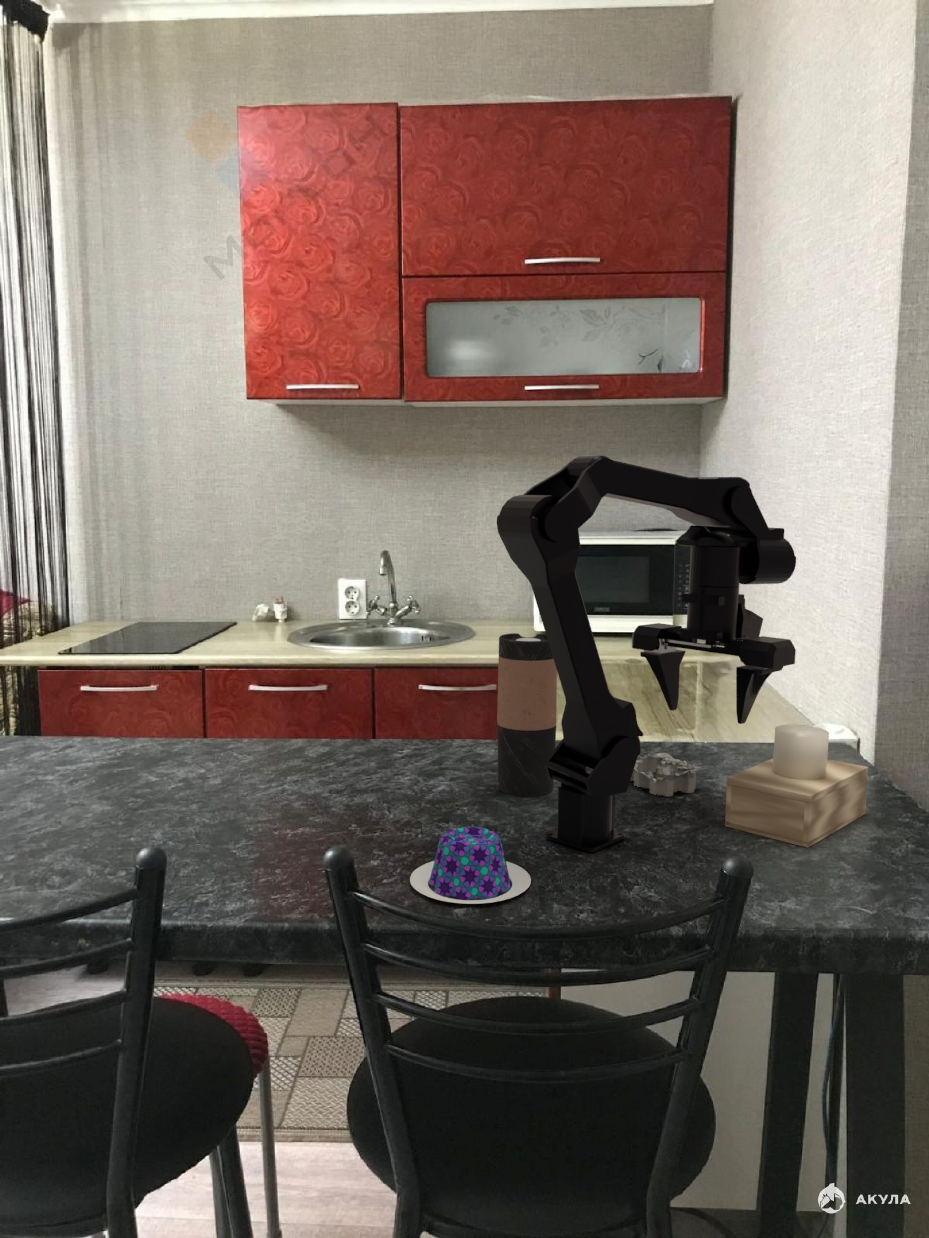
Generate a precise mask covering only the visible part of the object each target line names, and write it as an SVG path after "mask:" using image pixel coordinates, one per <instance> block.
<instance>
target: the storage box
mask: <svg viewBox="0 0 929 1238" xmlns="http://www.w3.org/2000/svg"><path fill="white" fill-rule="evenodd" d="M868 776H869V773H868V774H866V775H864V776H862V777H860V778H858V779H856V780H855V781H853V782H851V783H849V784H847V785H845V786H843V787H841V788H839V789H837V790H835V791H833V792H831V793H829V794H827V795H826V796H824V797H822V798H820V799H818V800H816V801H814V802H812V803H806V802H802V801H798V800H793V799H789V798H785V797H780V796H776V795H772V794H767V793H763V792H759V791H754V790H750V789H746V788H741V787H737V786H733V785H729V784H727V783H726V796H725V797H726V798H725V817H724V818H725V819H724V820H725V823H724V827H727V828H731V829H734V830H738V831H742V832H745V833H749V834H753V835H758V836H761V837H765V838H769V839H773V840H777V841H781V842H783V843H789V844H793V845H796V846H800V847H803V848H806V849H807V848H810V847H812V846H814V845H815V844H817V843H819V842H820V841H822V840H823V839H826V838H827V837H828V836H830V835H832V834H833V833H836V832H837V831H840V829H842V828H844V827H845V826H847V825H850V824H851V823H853V822H854V821H856V820H858V819H859V818H861V817H863V816H864V815H866V812H867V811H866V809H867V807H866V806H867V793H868V788H867V787H868Z"/></svg>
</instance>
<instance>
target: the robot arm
mask: <svg viewBox="0 0 929 1238" xmlns="http://www.w3.org/2000/svg"><path fill="white" fill-rule="evenodd" d="M604 497H607V498H610V499H611V498H612V499H615V500H616V499H617V500H620V501H621V500H622V501H625V502H630V503H635V504H640V505H646V506H651V507H656V508H661V509H665V510H666V511H669V512H671V513H672V514H673V515H675V516H676V518H679V519H681V520H683V521H685V522H688V523H690V524H692V525H690V526H689V527H688V529H686V531H685V532H684V533H683V534H681V535H680V536H679V537H678V538H677V539H676V540H675V543H676V545H678V546H684V547H690V555H689V557H690V559H689V562H690V563H689V578H688V579H689V580H688V592H685V593H684V592H683V593H682V595H681V603H687V611H686V613H687V614H686V627H682V625H677V624H667V623H660V622H657V623H647V624H640V625H637V627H636V628H635V629H634V631H633V633H632V634H631V635H632V637H631V648H632V649H636V650H642V651H640V653H639V654H640V657H641V658H645V660H646V661H647V664H648V665H649V667H650V669H651V670H652V672H653V674H654V677H655V678H656V681H657V683H658V684H659V685H658V686H659V687H660V690H661V692H662V695H663V697H664V700H665V702H666V705H667V706H668V710H669V711H673V712H674V711H677V708H678V705H679V704H678V702H679V697H680V696H679V693H680V673H681V672H680V669H681V668H680V666H681V663H682V662H683V659H684V657H685V654H686V650H693V651H698V652H699V651H700V652H706V653H707V652H708V653H714V654H720V655H729V656H734V657H738V658H739V659H740V661H741V662H742V664H744V665H741V666H736V668H735V670H736V671H735V672H736V673H735V674H736V677H735V678H736V679H735V680H736V681H735V682H736V683H735V685H736V686H735V687H736V690H735V692H736V693H735V694H736V695H735V696H736V698H735V699H736V708H735V709H736V719H737V723H738V724H739V725H742V724H743V725H744V724H746V722H747V719H748V717H749V715H750V712H751V710H752V708H753V706H754V703H755V701H756V699H757V697H758V695H759V694H760V693H759V692H760V691H761V689H762V687H763V686H764V684H765V683H766V681H767V679H769V677H770V676H771V675H772V674H773V673H775V672H781V671H782V670H783V669H784V667H786V666H791V665H795V664H796V648H795V646H794V644H793V642H792V640H791V639H788V638H780V637H773V636H765V635H764V636H763V635H762V636H760V635H761V631H762V626H763V622H764V618H763V617H762V616H760V615H758V614H757V613H755V612H754V611H752V610H749V609H748V608H747V609H746V599H745V594H743V593H740V584H741V585H774V584H775V585H776V584H777V585H779V584H783V583H785V582H787V581H788V580H790V578H791V577H792V576H793V574H794V572H795V569H796V566H797V565H796V564H797V556H796V555H795V551H794V548H793V546H792V545H791V543H790V542H789V540H787V538H785V528H783V527H769V526H768V524H767V521H766V520H765V517H764V515H763V513H762V511H761V509H760V507H759V505H758V503H757V500H756V498H755V496H754V493H753V491H752V489H751V484H750V482H749V480H747V479H745V478H744V477H740V476H710V477H709V476H707V477H706V476H704V477H702V476H701V477H699V476H698V477H697V476H695V477H692V476H691V477H689V476H683V475H680V474H676V473H672V472H667V471H662V470H658V469H654V468H649V467H644V466H640V465H635V464H631V463H627V462H622V461H620V460H619V461H617V460H613V459H611V458H610V457H608V456H606V455H584V456H576V457H575V458H573V459H572V460H570V461H569V462H568V463H567V464H566V465H565V466H563V467H562V468H561V469H559V471H557V472H555V473H554V474H552V475H550V476H549V477H547V478H545V479H543V480H542V481H540V482H538V483H537V484H535V485H533V486H531V487H530V488H529V489H527V491H525V492H524V494H519V495H514V496H512V497H510V498H509V499H508V500H506V501H505V503H504V504H503V505H502V506H501V510H500V512H499V514H498V515H497V517H496V528H497V533H498V535H499V537H500V539H501V541H502V544H503V546H504V548H505V549H506V552H507V553H508V555H509V558H510V559H511V561H512V562H513V563H514V564H515V565H516V567H517V568H518V569H519V570H520V572H521V573H522V574H523V576H525V578H526V579H527V580H528V582H529V583H530V586H531V590H532V592H533V595H534V599H535V602H536V605H537V608H538V611H539V615H540V619H541V622H542V625H543V629H544V632H545V634H546V636H547V639H548V642H549V646H550V649H551V652H552V655H553V659H554V662H555V665H556V669H557V676H558V677H559V681H560V685H561V689H562V691H563V694H564V698H565V699H564V700H565V705H564V710H563V714H562V718H561V724H560V725H561V730H562V731H561V732H562V736H563V738H562V739H561V740H560V742H559V743H558V744H557V745H556V746H555V749H554V751H553V752H552V753H551V754H550V756H549V757H548V758H547V760H546V761H545V763H544V765H545V768H546V772H547V775H548V778H550V779H552V780H553V781H556V782H558V783H560V787H558V789H557V826H556V827H557V829H554V830H552V831H550V832H547V833H546V834H545V838H546V839H547V840H551V841H553V842H557V843H560V844H563V845H566V846H569V847H572V848H576V849H579V850H581V851H585V852H589V853H593V852H598V851H599V850H601V849H603V848H606V847H608V846H611V845H613V844H615V843H617V842H620V841H622V840H624V839H625V838H626V837H625V835H626V834H625V833H623V832H621V831H620V832H619V831H618V830H614V829H615V816H616V815H615V813H616V810H615V807H616V804H615V803H616V795H619V794H625V793H627V792H628V789H629V785H630V782H631V781H630V779H631V776H632V773H633V770H634V767H635V763H636V760H637V757H638V756H639V755H640V756H641V753H642V752H641V751H642V745H641V739H640V737H644V732H643V731H642V730H641V729H640V726H639V724H638V720H637V711H636V709H635V706H634V704H633V702H631V701H628V700H625V699H621V698H619V697H615V696H613V695H612V693H611V692H610V689H609V685H608V683H607V682H608V681H607V679H606V675H605V671H604V668H603V664H602V662H601V658H600V655H599V651H598V647H597V645H596V640H595V636H594V633H593V630H592V627H591V626H592V625H591V623H590V619H589V616H588V612H587V610H586V606H585V601H584V599H583V596H582V592H581V588H580V585H579V581H578V578H577V574H576V573H577V572H576V568H577V565H578V564H577V563H578V559H579V556H580V555H579V554H580V549H581V540H580V533H579V532H580V531H579V528H581V527H582V526H583V525H584V524H585V523H586V522H588V520H589V519H591V518H592V517H593V516H594V514H595V512H596V510H597V508H598V506H599V504H600V503H601V501H602V499H603V498H604ZM698 640H703V641H705V643H704V642H698ZM677 648H678V649H677ZM681 649H686V650H681ZM586 768H590V769H592V771H590V770H587V769H586Z"/></svg>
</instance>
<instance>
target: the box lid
mask: <svg viewBox="0 0 929 1238" xmlns="http://www.w3.org/2000/svg"><path fill="white" fill-rule="evenodd" d="M866 774H868V775H869V766H864V765H861V764H856V763H855V764H853V763H849V762H845V761H839V760H833V759H828V758H827V770H826V776H825V777H824V778H821V779H815V780H803V779H794V778H788V777H784V776H781V775H779V774H776V773H775V772H774V771H773V758H771V759H768V760H765V761H764V762H762V763H759V764H756V765H753V766H751V767H748V768H747V769H744V770H741V771H739V772H737V773H735V774H731V775H730V776H727V777H726V785H727V784H729V785H733V786H737V787H741V788H746V789H750V790H754V791H759V792H763V793H767V794H772V795H776V796H780V797H785V798H789V799H793V800H798V801H802V802H806V803H812V802H814V801H816V800H818V799H820V798H822V797H824V796H826V795H827V794H829V793H831V792H833V791H835V790H837V789H839V788H841V787H843V786H845V785H847V784H849V783H851V782H853V781H855V780H856V779H858V778H860V777H862V776H864V775H866Z"/></svg>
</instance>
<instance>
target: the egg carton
mask: <svg viewBox="0 0 929 1238" xmlns="http://www.w3.org/2000/svg"><path fill="white" fill-rule="evenodd" d="M701 768H702V765H700V766H696V765H694V764H693V765H691V763H688V762H687V761H686V760H680V759H677V758H674V757H673V756H672V755H671V754H669V753H668V752H659V753H655V754H652V753H651V754H649V753H647V754H646V756H641V754H640V755H639V756H638V757H637V760H636V763H635V767H634V770H633V773H632V776H631V779H630V782H631V780H632V781H634V782H633V787H635V786H637V787H636V788H638V787H646V788H645V789H647V788H649V789H648V790H649V794H650V793H651V795H652V794H654V795H653V796H662V795H663V797H673V796H674V793H677V791H681V792H680V793H686V794H692V793H695V790H696V785H697V781H696V779H697V771H698V770H699V769H701ZM643 771H649V772H643ZM652 772H656V774H655V778H654V773H652ZM656 794H657V795H656Z"/></svg>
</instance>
